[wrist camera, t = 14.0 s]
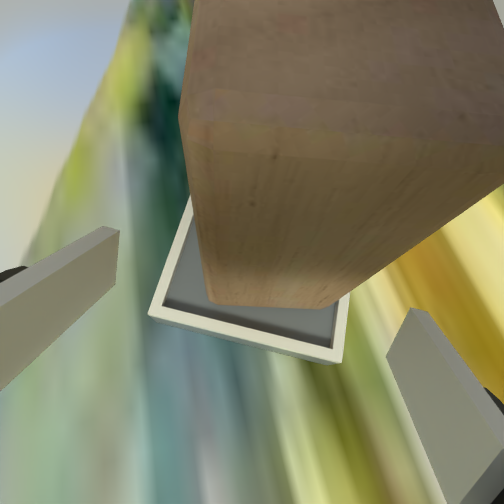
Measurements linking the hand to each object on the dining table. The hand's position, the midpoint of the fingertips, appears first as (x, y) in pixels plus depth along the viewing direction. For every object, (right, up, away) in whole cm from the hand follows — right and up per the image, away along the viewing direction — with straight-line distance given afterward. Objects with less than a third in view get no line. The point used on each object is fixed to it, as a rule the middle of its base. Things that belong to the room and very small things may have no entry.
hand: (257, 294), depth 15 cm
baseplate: (+1, +1, +16) cm, 16 cm away
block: (+1, +2, +14) cm, 14 cm away
